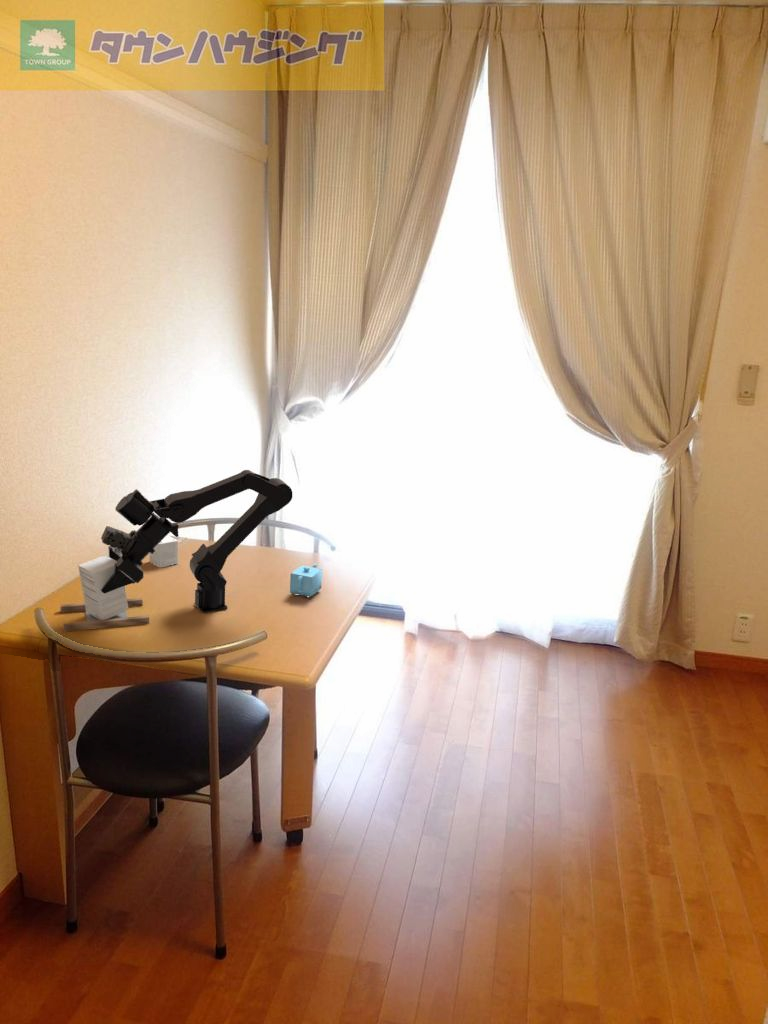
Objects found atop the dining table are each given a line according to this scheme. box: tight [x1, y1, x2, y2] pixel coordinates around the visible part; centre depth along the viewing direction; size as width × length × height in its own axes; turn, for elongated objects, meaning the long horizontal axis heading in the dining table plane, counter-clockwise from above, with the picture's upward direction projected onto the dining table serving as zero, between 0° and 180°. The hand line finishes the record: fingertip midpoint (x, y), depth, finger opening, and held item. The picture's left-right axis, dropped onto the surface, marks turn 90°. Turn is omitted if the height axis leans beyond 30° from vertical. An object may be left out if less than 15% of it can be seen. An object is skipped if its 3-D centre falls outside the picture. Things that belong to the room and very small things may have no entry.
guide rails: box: [59, 597, 150, 633], centre depth 194 cm, size 19×12×2 cm, turn 114°
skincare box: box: [148, 534, 179, 569], centre depth 231 cm, size 6×6×7 cm
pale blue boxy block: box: [289, 562, 323, 597], centre depth 218 cm, size 12×6×8 cm, turn 161°
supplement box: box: [77, 555, 129, 620], centre depth 192 cm, size 7×7×13 cm
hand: (100, 585), depth 192 cm, fingers closed on supplement box, 9 cm apart
